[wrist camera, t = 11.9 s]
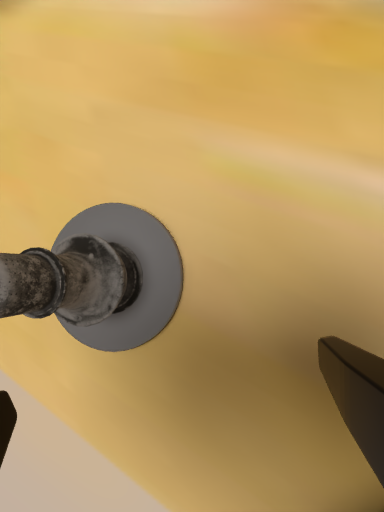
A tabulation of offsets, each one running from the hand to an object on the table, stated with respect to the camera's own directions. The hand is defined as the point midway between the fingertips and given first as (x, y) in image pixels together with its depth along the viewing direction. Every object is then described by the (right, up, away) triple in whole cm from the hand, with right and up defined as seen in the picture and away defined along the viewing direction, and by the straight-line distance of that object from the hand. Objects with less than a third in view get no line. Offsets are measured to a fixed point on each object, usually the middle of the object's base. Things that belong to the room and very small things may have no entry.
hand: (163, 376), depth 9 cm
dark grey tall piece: (-5, +2, +14) cm, 15 cm away
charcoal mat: (-5, +2, +15) cm, 16 cm away
